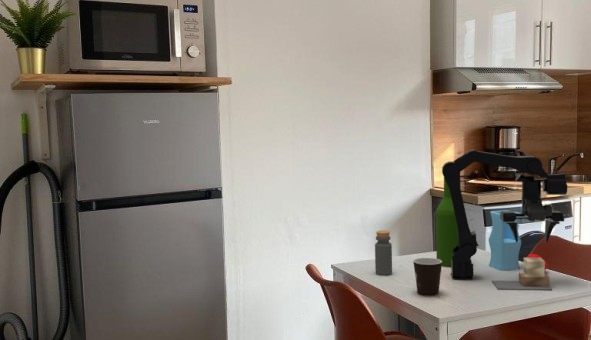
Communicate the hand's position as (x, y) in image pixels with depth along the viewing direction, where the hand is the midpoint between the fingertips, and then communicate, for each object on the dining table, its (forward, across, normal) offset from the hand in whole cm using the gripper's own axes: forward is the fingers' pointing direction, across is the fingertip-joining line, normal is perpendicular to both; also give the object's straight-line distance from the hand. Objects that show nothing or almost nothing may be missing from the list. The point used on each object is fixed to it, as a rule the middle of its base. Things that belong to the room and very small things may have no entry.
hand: (531, 242), depth 181 cm
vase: (+13, -5, +16) cm, 21 cm away
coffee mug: (+13, -34, -15) cm, 39 cm away
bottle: (+13, -48, +6) cm, 50 cm away
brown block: (+12, -1, -7) cm, 14 cm away
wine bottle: (+13, -24, +20) cm, 34 cm away
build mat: (+12, -5, -8) cm, 15 cm away
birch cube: (+9, -1, -7) cm, 12 cm away
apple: (+13, +4, +10) cm, 17 cm away
